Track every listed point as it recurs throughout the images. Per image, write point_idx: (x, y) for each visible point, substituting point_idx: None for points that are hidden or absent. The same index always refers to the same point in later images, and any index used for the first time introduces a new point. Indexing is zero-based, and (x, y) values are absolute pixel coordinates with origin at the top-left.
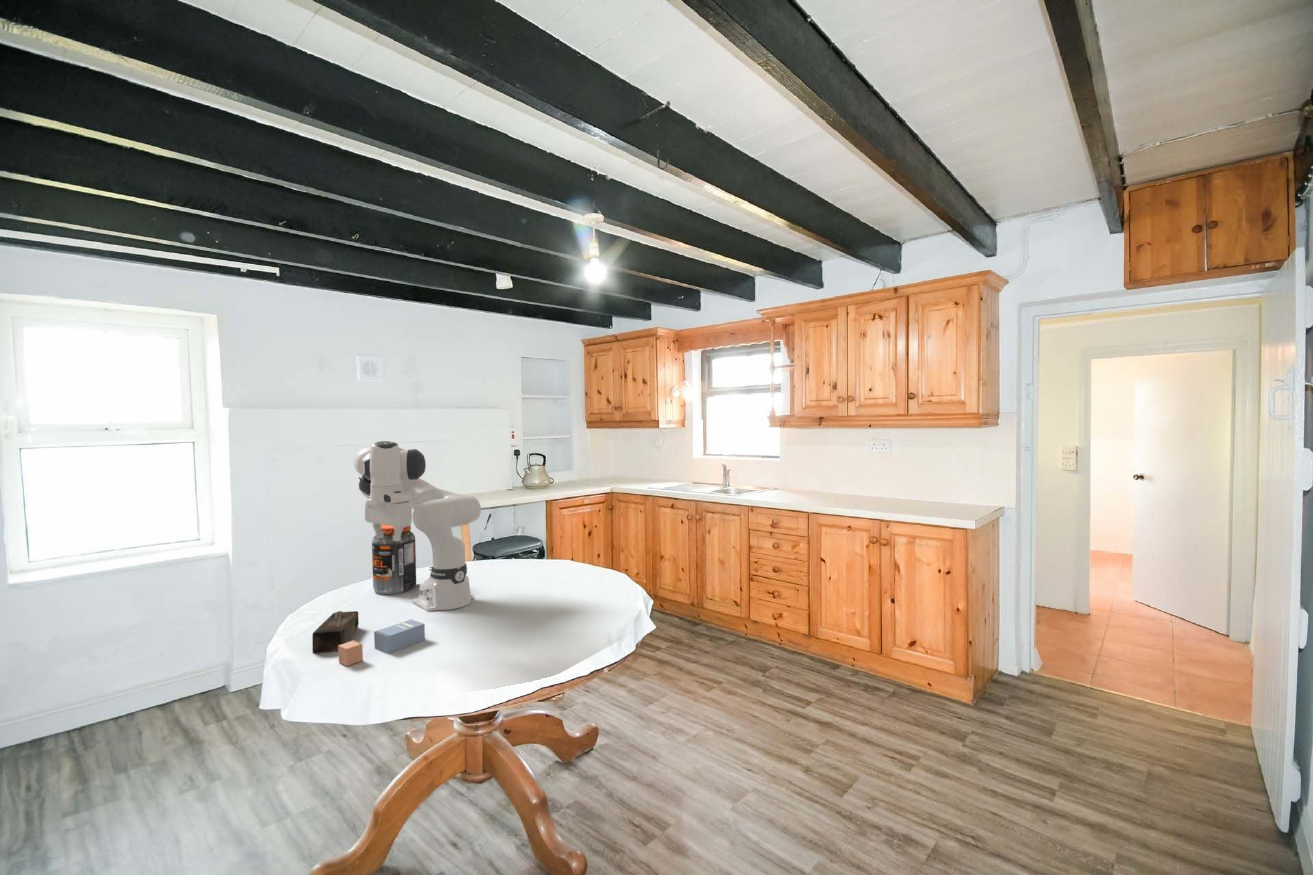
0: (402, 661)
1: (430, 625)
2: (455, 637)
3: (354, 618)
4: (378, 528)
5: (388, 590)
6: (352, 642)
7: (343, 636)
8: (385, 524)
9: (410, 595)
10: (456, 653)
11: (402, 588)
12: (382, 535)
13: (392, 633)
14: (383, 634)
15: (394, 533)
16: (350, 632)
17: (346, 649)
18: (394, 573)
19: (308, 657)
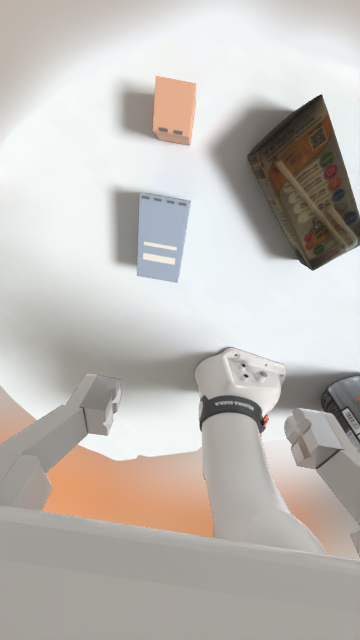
0: (94, 178)
1: (184, 310)
2: (111, 290)
3: (297, 245)
4: (354, 491)
5: (350, 381)
6: (179, 122)
7: (258, 172)
8: (145, 546)
9: (306, 382)
10: (55, 246)
11: (330, 391)
12: (288, 432)
13: (145, 212)
14: (156, 198)
15: (59, 422)
16: (276, 215)
17: (156, 77)
18: (357, 408)
19: (290, 85)
